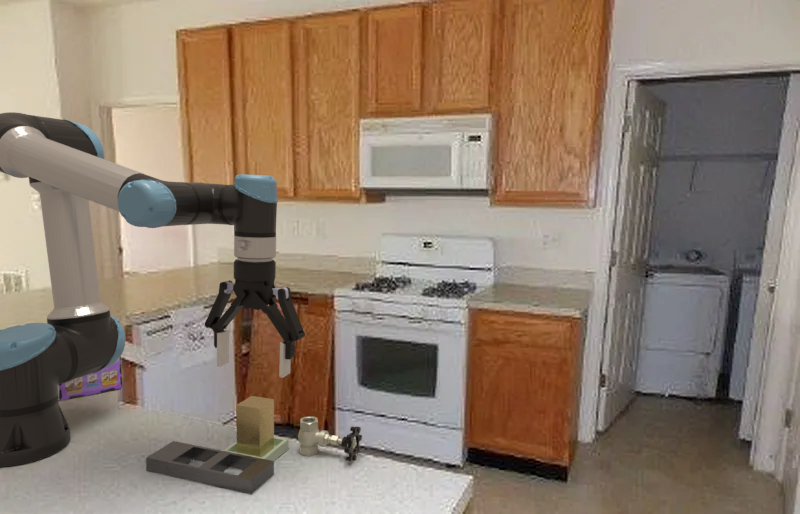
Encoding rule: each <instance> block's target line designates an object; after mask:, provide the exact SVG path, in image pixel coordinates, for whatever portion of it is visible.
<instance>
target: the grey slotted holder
mask: <svg viewBox="0 0 800 514" xmlns="http://www.w3.org/2000/svg"><path fill="white" fill-rule="evenodd" d="M193 460H196V461H200V462H203V463H202V464H200V465H198V466H197V465H192V464H189V463H191V462H192V461H193ZM145 467H146V469H145V471H147V472H151V473H155V474H160V475H165V476H170V477H173V478H177V479H182V480H186V481H191V482H196V483H200V484H202V485H203V484H204V485H208V486H213V487H216V488H220V489H221V488H222V489H227V490H230V491H235V492H239V493H244V494H248V495H253V494H254V493H255V492H256V491H257V490H258V489H259V488H260V487H262V486H263V484H265V483H266V482H267V481H268V480H270V479H271V477H273V476H274V475H275V461H271V460H266V459H261V458H256V457H251V456H246V455H242V454H237V453H232V452H227V451H223V450H221V449H217V448H216V449H215V448H211V447H206V446H201V445H196V444H192V443H191V444H190V443H186V442H181V441H176V440H173V441H171V442H169V443H168V444H166V445H164V446H162V447H161V448H160V449H158V450H156V451H154V452H152V453H151V454H149V455H148V456H146V457H145ZM229 468H234V469H237V468H238V469H239V470H242V471H241V472H240V473H239V474H234V473H231V472H230V473H229V472H226V470H228V469H229Z"/></svg>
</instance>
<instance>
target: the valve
mask: <svg viewBox="0 0 800 514" xmlns="http://www.w3.org/2000/svg"><path fill="white" fill-rule="evenodd" d="M299 421H300V425H299V426H300V429H299V431H298V435H297V438H298V443H299V444H300V445H299V446H300V448H299V450H300V452H299V453H300V455H302V456H307V457H310V456H313V455H316V454H318V452H319V449H318V448H319V447H323V448H325V447H326V446H328V445H329V444H330V445H331V446H337V447H339V445H341V447H342V448H344V449H343V451H344V453H345V454H347V456H345V461H347V462H352V461H356V460H357V453H360V452H361V446H360V442H361V441H362V440H363V435H362V434H361V427H360V426H351V427H350V430H349V431H350V433H348V434H347V435H346V436H343V437H342V438H341V436H339V435H331V434H330V433H329V430H324V429H322V430H319V420H318V417H316V416H309V415H308V416H303V417H301V418H300V419H299ZM318 446H319V447H318Z"/></svg>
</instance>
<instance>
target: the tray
mask: <svg viewBox="0 0 800 514" xmlns="http://www.w3.org/2000/svg"><path fill="white" fill-rule="evenodd" d="M289 441H290V440H289V438H284V437H279V436H274V448H273V449H272V450H271V451H270V452H268V453H267V454H266V455H265V456H263V457H257V456H252V455H247V454H242V453H237V440H236V441H234V442H233V443H232V444H230V445H229V446H227V447H226V448H225V449H223V450H222V451H227V452H232V453H237V454H242V455H246V456H251V457H256V458H261V459H266V460H271V461H274V462H275V461H276V460H277V459H279V458H280V456H283V454H284V453H286V452H287V451H288V450H289V448H290V445H289V443H290V442H289Z"/></svg>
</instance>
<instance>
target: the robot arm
mask: <svg viewBox="0 0 800 514" xmlns="http://www.w3.org/2000/svg"><path fill="white" fill-rule="evenodd" d="M0 173H3V174H6V175H8V176H11V177H13V178H19V179H25V178H26V179H27V178H28V182H29V187H30V188H32V189H34V190H35V191H36V192H37V193H38V194H39V198H40V206H41V215H42V222H43V230H44V238H45V247H46V254H47V260H48V261H47V263H48V269H49V277H50V285H51V286H50V287H51V292H52V294H51V295H52V300H53V309H52V310H51V311H50V313H49V314H48V315H46V322H29V323H25V324H22V325H21V324H18V325H14V326H9V327H6V328H3V329H1V330H0V467H1V468H2V467H12V466H19V465H23V464H29V463H33V462H36V461H40V460H42V459H45V458H48V457H49V456H52V455H54V454H56V453H59V452H60V451H62V450H63V449H64V448H66V447H67V446H68V444H70V442H71V428H70V426H69V424H68V421H67V420H66V416H65V414H64V412H63V410H62V409H61V407H60V405H59V399H58V385H59V384H62V383H65V382H68V381H70V380H73V379H76V378H79V377H82V376H85V375H87V374H90V373H96V372H98V371H101V370H102V369H104V368H106V367H108V366H111V365H112V364H114V363H115V362H116V361H117V360H118V359H119V357H120V356H121V357H122V355H123V352H124V350H125V346H126V333H125V328H124V326H123V324H121V323H120V320H119V319H118V318H117V317H116V316H114V315H111V309H110V307H109V306H107V305H106V304H104V303H103V302H102V301H101V293H100V285H99V277H98V276H99V275H98V269H97V268H98V266H97V259H96V253H95V242H94V236H93V235H94V234H93V227H92V218H91V210H90V201H91V202H93V203H96V204H98V205H101V206H103V207H106V208H108V209H111V210H113V211H115V212H118V213H120V215H121V217H122V218H124V220H125V221H126V223H128V224H129V225H131V226H134V227H138V228H147V229H156V228H161V227H173V226H174V227H175V226H190V225H191V226H192V225H193V226H194V225H208V224H209V225H228V226H233V232H234V233H233V235H234V236H233V237H234V238H233V239H234V240H233V257H235V258H236V259H235V260H234V261H233V279H234V280H235V281H234V282H233V281H232V280H225V281H221V282H219V286H218V287H219V288H218V294H217V295H216V298H215V301H214V302H213V305H212V307H211V309H210V311H209V313H208V316H207V318H206V320H205V322H204V326H205V328H207V329H211V330H212V331H213V346H214V348H215V349H216V367H220V368H221V367H224V366H225V365H227V364H229V363H230V330H228V329H227V328H228V326H229V324H230V323H231V322H232V321H233V320H234V319H235V318H236V317H237V315H238V314H239V313H240V312H241V311H242V309H247V310H248V309H253V310H255V311H259V310H261V311H262V313H263V314H265V315H266V316H267V318H268V319H269V321H270V322H271V324H272V325H273V326H274V328H275V329H276V331H277V332H278V334H279V336H280V337H281V338H282V340H283V341H280V342H279V364H278V365H279V367H278V369H279V370H278V371H279V372H278V373H279V374H278V375H279V378H282V379H283V378H285V377H286V376H288V375H290V374H291V365H292V364H291V363H292V361H291V360H292V359H293V358H294V357H295V353H296V352H295V349H296V342H297V341H299V340H301V339H304V338H305V336H306V333H305V330H304V328H303V325H302V323H301V321H300V318H299V316H298V314H297V310H296V308H295V305H294V303H293V301H292V297H291V296H292V295H291V293H292V292H291V288H290V287H289V286H286V287H281V288H280V287H278V288H277V287H276V286H275V280H276V274H277V273H276V272H277V271H276V269H277V267H276V265H277V264H276V263H277V262H276V261H275V260H274V258H276V257H277V215H278V214H277V211H278V210H277V209H278V202H279V200H278V199H279V198H278V188H277V187H278V186H277V180H276V178H275V177H274V176H272V175H266V174H265V175H263V174H262V175H261V174H245V173H244V174H241V173H240V174H237V175H235V176H234V182H233V184H219V183H209V182H208V183H206V182H185V181H167V180H163V179H160V178H156V177H153V176H150V175H147V174H145V173H143V172H139V171H138V170H135V169H133V168H129V167H126V166H123V165H122V164H119V163H115V162H113V161H109V160H107V159H105V151H104V146H103V143H102V142H101V140H100V137H99V136H98V135H97V133H95V131H93V130H92V129H91V128H90V127H88V126H87V125H84V124H82V123H79V122H75V121H72V120H69V119H60V118H53V117H46V116H39V115H34V114H33V115H31V114H26V113H23V112H1V113H0ZM233 293H234V294H235V296H236V297H235V298H234V299H233V301H232V302H231V303H230V306H229V307H228V308H227V309H226V307H227V306H228V305H227V304H228V302H229V300H230V298H231V295H232V294H233ZM274 297H275V299H276V300H277V301H278V304H279V306H278V304H277V302H276V301H275V300H274ZM278 307H280V309H279V308H278ZM225 309H226V310H225ZM280 310H281V311H280ZM224 311H225V312H224ZM281 312H282V313H281ZM225 329H226V330H225Z"/></svg>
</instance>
